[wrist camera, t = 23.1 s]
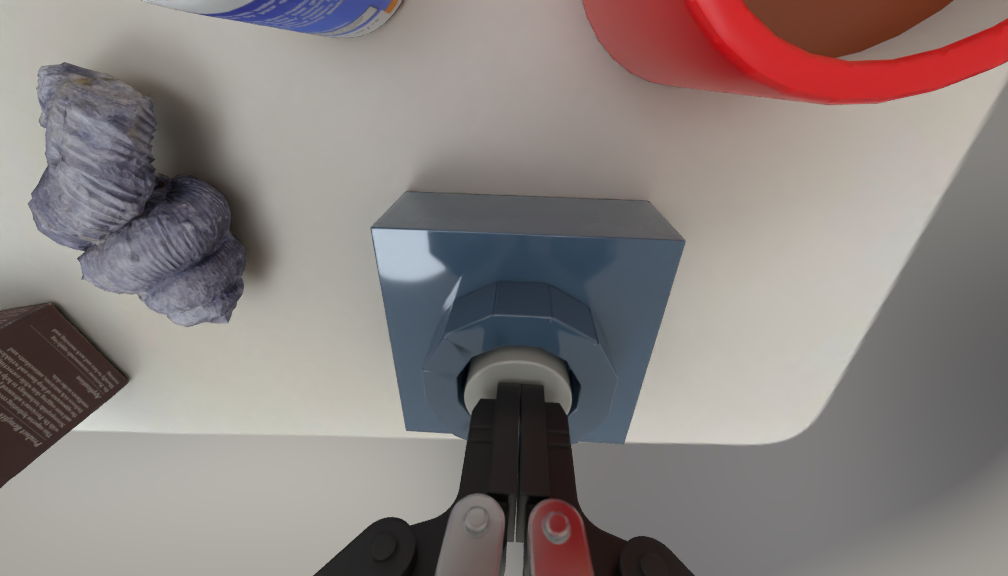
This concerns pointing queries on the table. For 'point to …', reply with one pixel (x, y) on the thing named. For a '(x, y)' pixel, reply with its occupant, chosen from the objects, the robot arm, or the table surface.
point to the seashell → (131, 202)
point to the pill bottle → (297, 14)
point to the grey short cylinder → (517, 374)
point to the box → (46, 383)
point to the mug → (804, 45)
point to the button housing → (524, 298)
